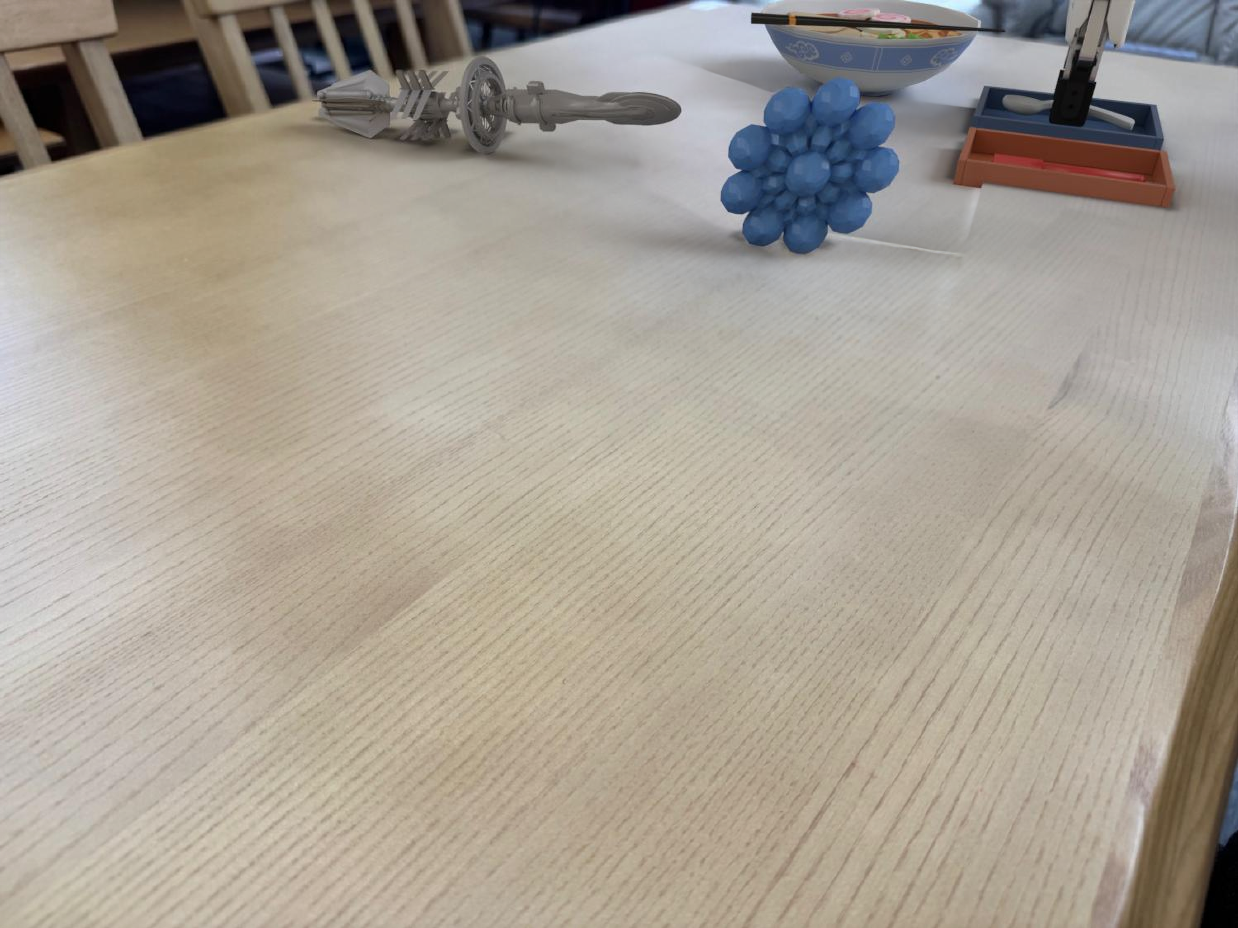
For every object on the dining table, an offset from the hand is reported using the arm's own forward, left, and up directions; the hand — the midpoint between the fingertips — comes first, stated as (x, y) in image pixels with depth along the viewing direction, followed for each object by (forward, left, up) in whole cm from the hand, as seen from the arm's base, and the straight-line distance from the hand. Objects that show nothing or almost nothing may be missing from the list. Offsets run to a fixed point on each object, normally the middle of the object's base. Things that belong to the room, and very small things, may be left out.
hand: (1066, 118), depth 94 cm
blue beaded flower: (+17, +38, -2) cm, 42 cm away
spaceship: (+47, +28, -2) cm, 55 cm away
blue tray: (0, 0, -2) cm, 2 cm away
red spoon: (0, +15, -1) cm, 15 cm away
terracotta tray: (0, +15, -2) cm, 15 cm away
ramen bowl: (+21, -9, -2) cm, 23 cm away
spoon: (0, 0, 0) cm, 0 cm away
